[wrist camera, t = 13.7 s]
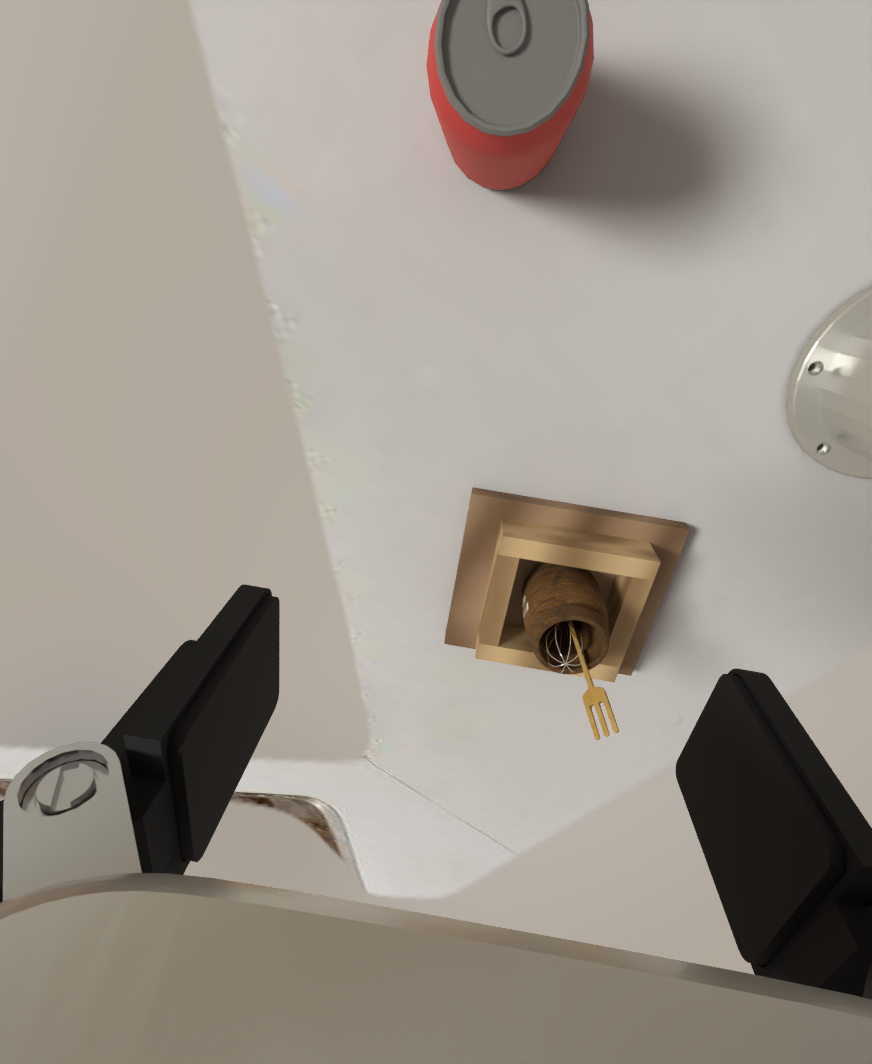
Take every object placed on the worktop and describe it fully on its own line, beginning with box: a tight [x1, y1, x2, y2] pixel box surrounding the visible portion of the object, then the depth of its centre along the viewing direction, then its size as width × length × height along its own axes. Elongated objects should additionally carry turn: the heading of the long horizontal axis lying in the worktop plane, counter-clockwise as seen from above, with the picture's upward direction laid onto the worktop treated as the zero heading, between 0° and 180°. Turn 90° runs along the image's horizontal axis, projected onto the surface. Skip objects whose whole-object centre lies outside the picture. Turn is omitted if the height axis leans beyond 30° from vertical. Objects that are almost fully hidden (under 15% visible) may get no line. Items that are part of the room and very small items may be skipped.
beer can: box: [427, 0, 594, 190], centre depth 24 cm, size 7×7×12 cm
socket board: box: [444, 488, 690, 682], centre depth 41 cm, size 16×14×4 cm
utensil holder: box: [522, 563, 619, 740], centre depth 36 cm, size 6×6×12 cm
